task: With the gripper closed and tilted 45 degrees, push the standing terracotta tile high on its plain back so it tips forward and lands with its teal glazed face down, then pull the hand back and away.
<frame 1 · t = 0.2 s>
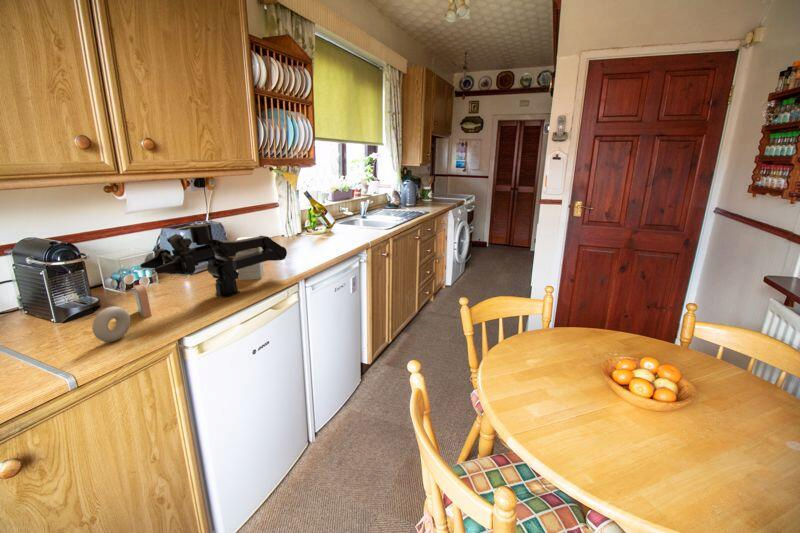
hand: (147, 268, 118), 17 cm above the table, tool horizontal, fingers open, 9 cm apart
terracotta tile: (144, 313, 125), on the table
donut: (116, 340, 107), on the table
supplement box: (252, 276, 164), on the table
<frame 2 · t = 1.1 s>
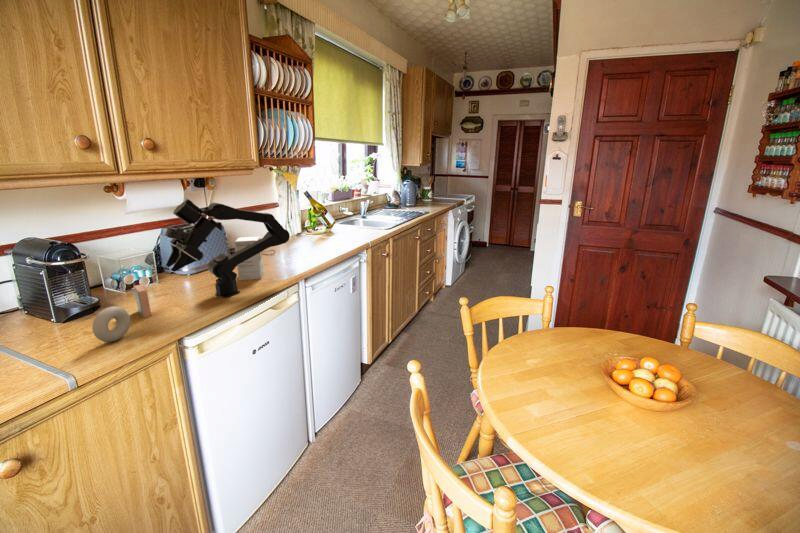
hand: (169, 268, 127), 14 cm above the table, tool tilted 45°, fingers open, 7 cm apart
nothing on the table moved.
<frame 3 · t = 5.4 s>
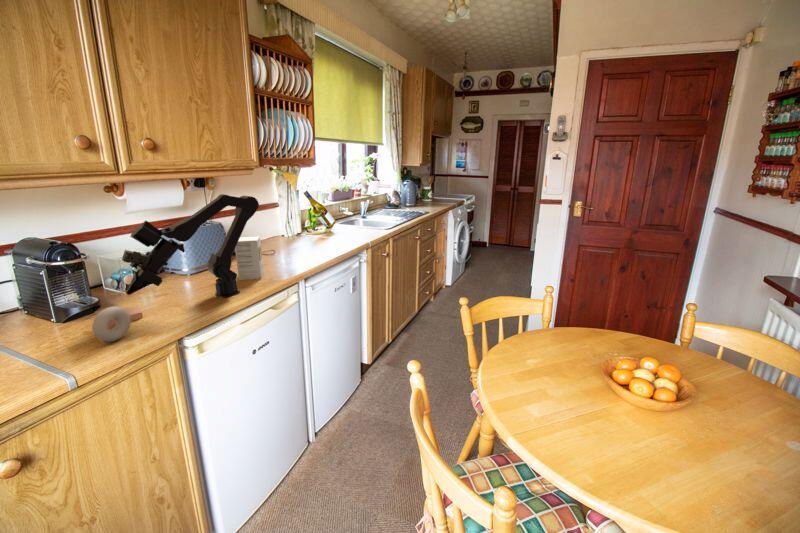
hand: (127, 293, 121), 8 cm above the table, tool tilted 45°, fingers closed
terracotta tile: (140, 312, 124), point 1 cm above the table, tilted 90°
everything else where it was.
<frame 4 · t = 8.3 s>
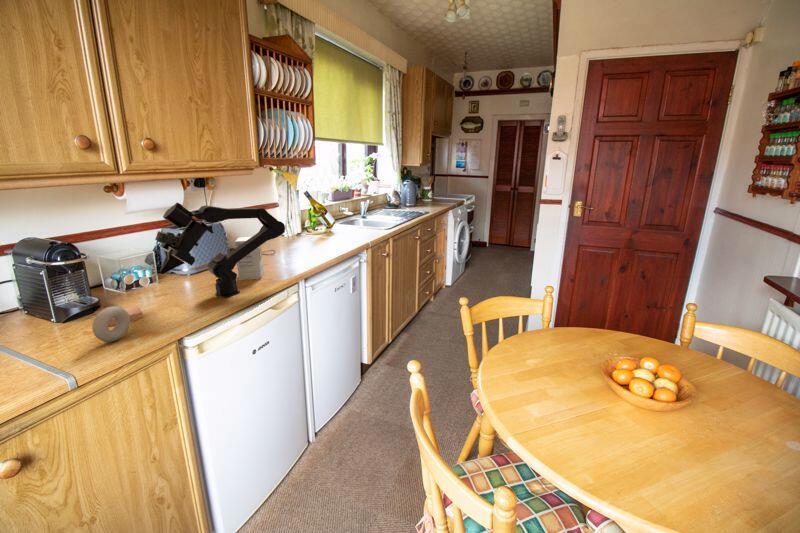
hand: (160, 273, 126), 13 cm above the table, tool tilted 45°, fingers closed
nothing on the table moved.
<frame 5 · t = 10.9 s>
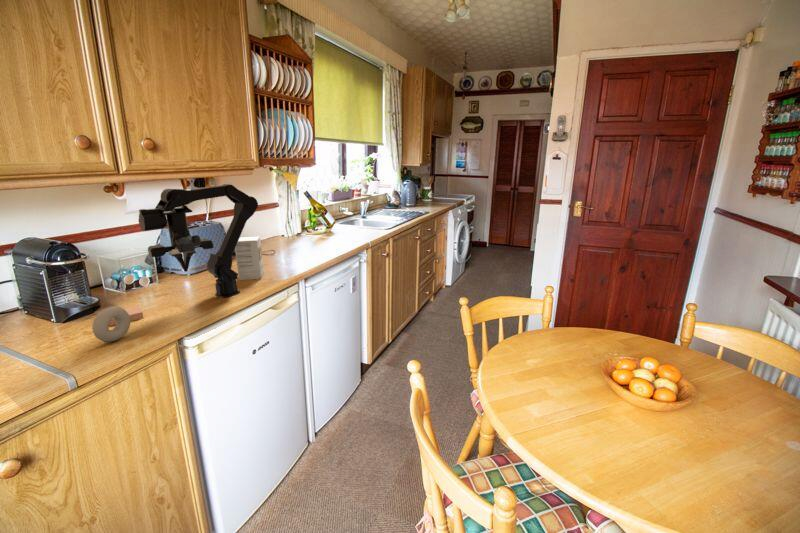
hand: (185, 271, 130), 12 cm above the table, tool pointing down, fingers closed
nothing on the table moved.
at the end: terracotta tile tilted 90°; terracotta tile inside the target area (4.5 cm from its centre), point 0.8 cm above the table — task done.
